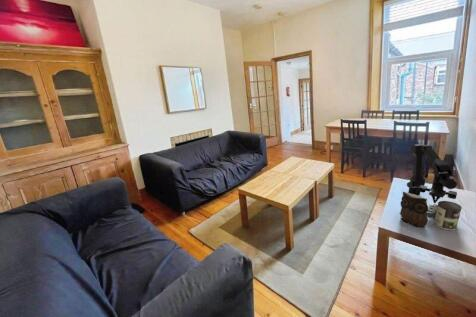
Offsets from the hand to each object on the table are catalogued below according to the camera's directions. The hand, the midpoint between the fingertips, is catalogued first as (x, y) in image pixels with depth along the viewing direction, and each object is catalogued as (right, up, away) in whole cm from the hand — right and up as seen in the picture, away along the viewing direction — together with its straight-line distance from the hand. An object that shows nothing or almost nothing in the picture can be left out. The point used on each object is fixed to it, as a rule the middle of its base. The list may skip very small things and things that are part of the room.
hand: (434, 203), depth 148 cm
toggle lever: (-5, -6, -4) cm, 8 cm away
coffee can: (-4, -11, -12) cm, 17 cm away
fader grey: (-1, -5, -2) cm, 5 cm away
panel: (+1, -7, -2) cm, 7 cm away
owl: (-18, -11, -6) cm, 22 cm away
